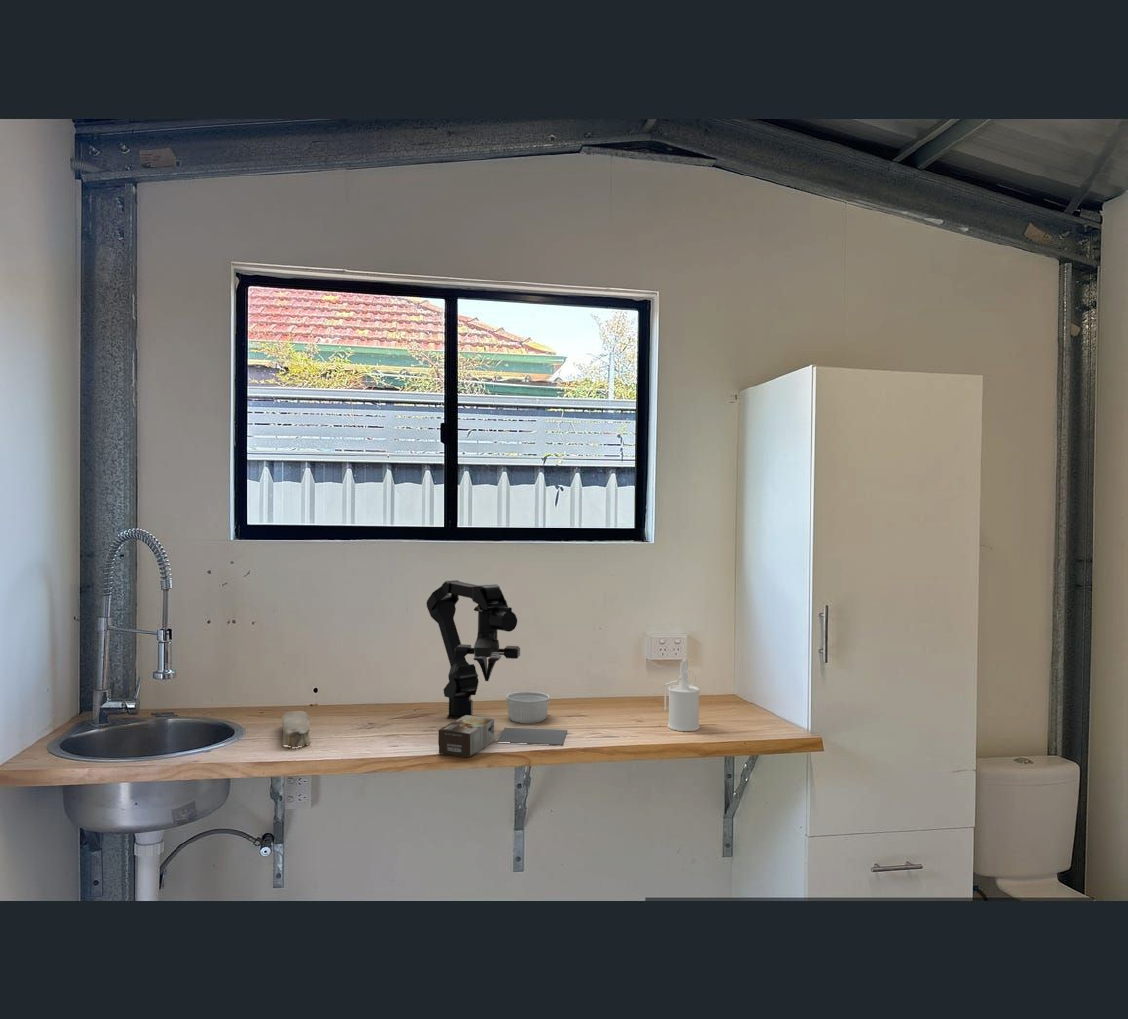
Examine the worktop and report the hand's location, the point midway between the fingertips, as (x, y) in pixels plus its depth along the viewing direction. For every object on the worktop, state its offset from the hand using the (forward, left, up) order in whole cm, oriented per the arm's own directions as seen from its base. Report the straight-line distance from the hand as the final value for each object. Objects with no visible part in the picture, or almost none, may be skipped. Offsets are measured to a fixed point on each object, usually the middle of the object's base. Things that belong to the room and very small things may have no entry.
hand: (487, 680), depth 228 cm
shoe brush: (-50, -18, -14) cm, 55 cm away
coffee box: (+1, -14, -10) cm, 17 cm away
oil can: (+57, +6, -13) cm, 59 cm away
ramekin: (+11, +9, -13) cm, 19 cm away
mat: (+15, -10, -13) cm, 22 cm away
